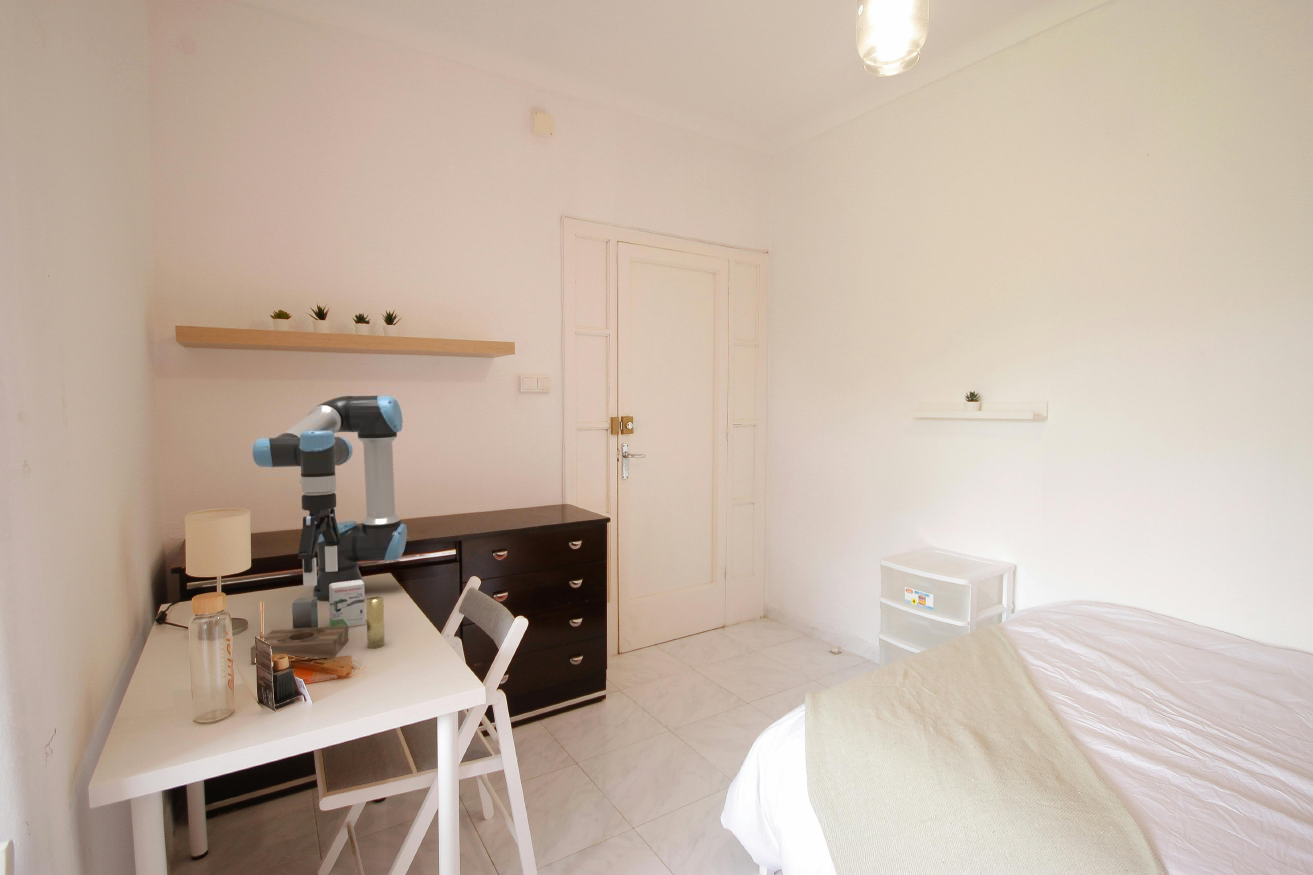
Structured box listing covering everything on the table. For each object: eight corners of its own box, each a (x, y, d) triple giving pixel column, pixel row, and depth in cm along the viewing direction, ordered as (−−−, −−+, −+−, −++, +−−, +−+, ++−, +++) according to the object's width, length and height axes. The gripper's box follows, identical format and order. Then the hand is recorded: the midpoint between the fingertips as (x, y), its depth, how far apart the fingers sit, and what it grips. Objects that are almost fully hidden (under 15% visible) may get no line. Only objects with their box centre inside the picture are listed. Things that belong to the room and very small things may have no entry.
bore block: (273, 645, 159) (272, 630, 159) (348, 640, 162) (348, 625, 162) (251, 664, 147) (250, 647, 147) (332, 658, 150) (332, 642, 150)
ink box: (331, 630, 170) (330, 587, 169) (329, 625, 174) (328, 583, 173) (366, 624, 174) (364, 582, 174) (363, 619, 179) (362, 578, 178)
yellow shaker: (369, 643, 160) (368, 597, 160) (386, 641, 161) (385, 596, 160) (365, 648, 156) (364, 601, 156) (382, 647, 157) (381, 600, 156)
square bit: (300, 634, 167) (298, 597, 166) (318, 633, 167) (317, 596, 167) (293, 640, 162) (292, 602, 162) (312, 639, 163) (310, 601, 163)
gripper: (322, 487, 166) (324, 566, 166) (279, 500, 141) (282, 592, 142) (352, 486, 167) (354, 565, 168) (314, 499, 142) (317, 591, 143)
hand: (321, 578), depth 155 cm, fingers open, 13 cm apart
